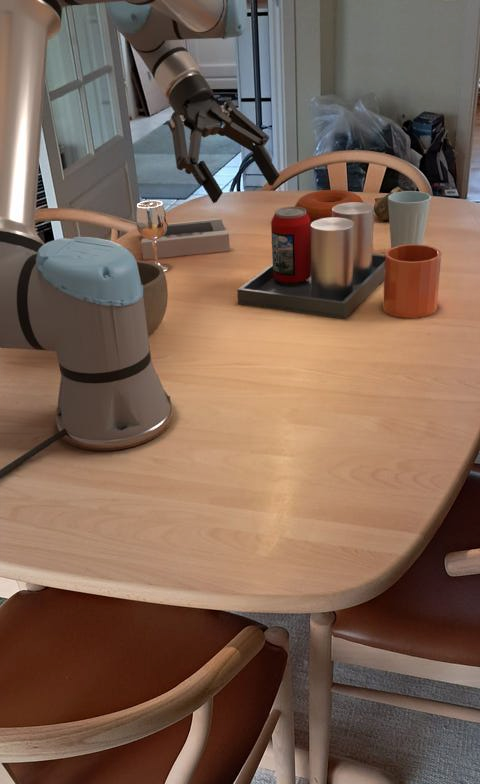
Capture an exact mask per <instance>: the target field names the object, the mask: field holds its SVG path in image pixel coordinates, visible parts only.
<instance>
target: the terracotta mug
mask: <svg viewBox="0 0 480 784" xmlns="http://www.w3.org/2000/svg"><path fill="white" fill-rule="evenodd" d="M384 255H385V266H384V280H383V290H382V293H383V294H382V295H383V296H382V305H383V306H382V309H383V311H384V312H385V313H386V314H387V315H390V316H392V317H396V318H401V319H402V318H403V319H418V318H423V317H427V316H430V315H432V314H434V313H435V312H436V310H437V307H438V301H439V300H438V298H439V286H440V276H441V275H440V274H441V262H442V252H441V250H440V249H439V248H437V247H435V246H431V245H427V244H423V245H418V244H410V245H401V246H395V247H393V248H391V247H390V248H388V249H387V250H386V251H385V252H384Z"/></svg>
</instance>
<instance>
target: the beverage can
mask: <svg viewBox="0 0 480 784" xmlns="http://www.w3.org/2000/svg"><path fill="white" fill-rule="evenodd" d="M270 229H271V234H270V235H271V254H272V255H271V258H272V259H271V260H272V263H273V277H274V279H275V280H277V281H279V282H280V283H282V284H285V285H296V284H301V283H303V282H305V281H306V280H307V279H308V278H310V276H311V226H310V218H309V216H308V214H307V213H306V209H304V208H302V207H295V206H284V207H280V208H277V209H276V210H274V214H273V216H272V218H271V221H270Z"/></svg>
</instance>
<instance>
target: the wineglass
mask: <svg viewBox="0 0 480 784" xmlns="http://www.w3.org/2000/svg"><path fill="white" fill-rule="evenodd" d="M135 211H136V213H135V222H136V223H135V224H136V228H137V232H138V234H139V235H140V237H141V238H142V237H144V238H146V239H150V240H153V242H152V247H153V249H154V253H155V258H154V264H157V265H159V266H161V267H162V269H163V270H164V272H166V271H168V270H169V269H170V266H169V265H168V264H164V263H160V262H159V258H157V242H156V239H159V238H161V237H162V236H163V235H164V234H165V233H166V231H167V226H168V224H169V222H168V217H167V212H166V209H165V207H164V204H163V201H160V200H145V201H141V202H139V203H137V205H136V210H135Z"/></svg>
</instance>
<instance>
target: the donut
mask: <svg viewBox="0 0 480 784" xmlns="http://www.w3.org/2000/svg"><path fill="white" fill-rule="evenodd" d="M349 202H362V203H365V202H364V200H363V199H362V197H361V195H358V194H356V193H355V192H353V191H349V190H342V189H322V190H316V191H312V192H309V193H306V194H305V195H303V196H301V197H300V198H299V199H298V200H297V202H296V203H295V205H294V207H302V208H304V209H306V213H307V214H308V216H309V218H310V227H311V223H312V222H314V221H316V220H319V219H323V218H331V217H332V208H333V207H334V206H336V205H338V204H342V203H349Z"/></svg>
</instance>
